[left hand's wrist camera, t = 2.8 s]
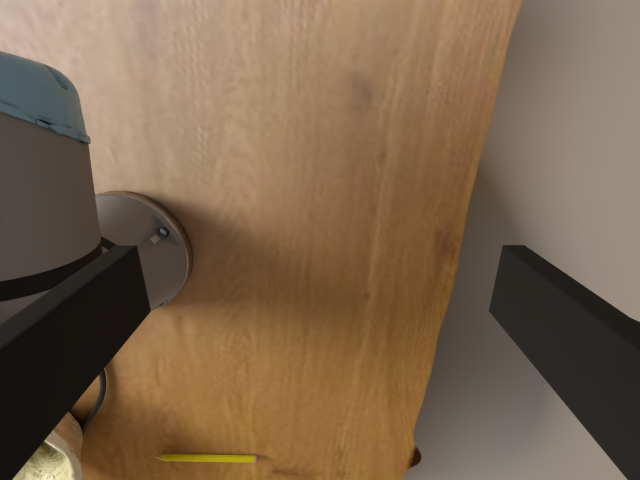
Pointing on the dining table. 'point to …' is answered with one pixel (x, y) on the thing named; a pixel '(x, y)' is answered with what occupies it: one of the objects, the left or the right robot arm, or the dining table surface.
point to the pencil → (207, 458)
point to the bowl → (57, 454)
